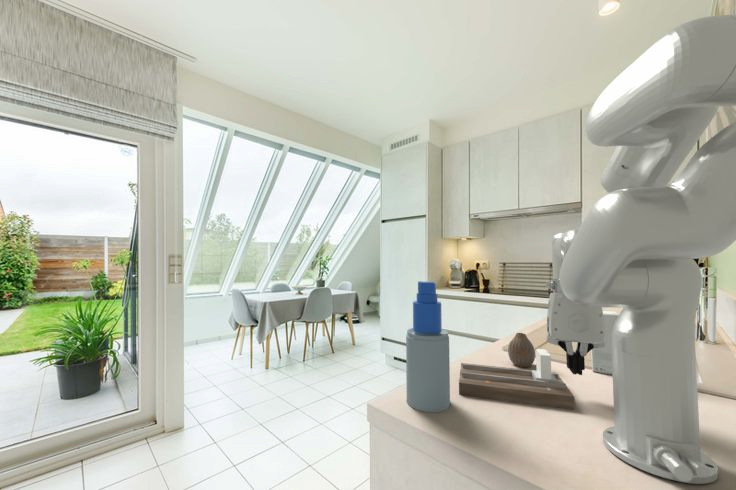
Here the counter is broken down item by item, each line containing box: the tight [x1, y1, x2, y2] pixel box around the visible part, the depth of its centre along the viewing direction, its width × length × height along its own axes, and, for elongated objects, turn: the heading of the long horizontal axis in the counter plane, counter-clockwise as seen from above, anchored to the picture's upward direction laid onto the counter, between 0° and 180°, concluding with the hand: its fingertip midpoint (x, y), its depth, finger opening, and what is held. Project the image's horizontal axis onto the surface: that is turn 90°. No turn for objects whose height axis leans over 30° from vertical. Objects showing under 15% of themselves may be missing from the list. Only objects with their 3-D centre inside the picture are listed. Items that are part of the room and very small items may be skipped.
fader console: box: [458, 362, 576, 411], centre depth 71 cm, size 14×22×4 cm, turn 71°
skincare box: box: [590, 310, 619, 376], centre depth 84 cm, size 8×7×16 cm
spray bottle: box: [405, 280, 451, 413], centre depth 65 cm, size 9×9×25 cm
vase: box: [507, 332, 536, 368], centre depth 88 cm, size 7×7×9 cm
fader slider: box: [531, 348, 557, 382], centre depth 69 cm, size 5×4×6 cm
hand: (575, 372), depth 67 cm, fingers closed
